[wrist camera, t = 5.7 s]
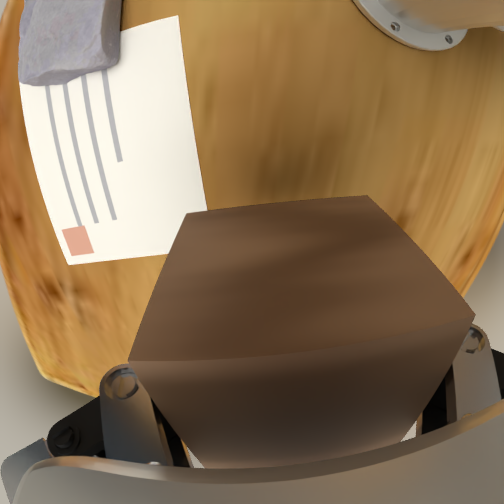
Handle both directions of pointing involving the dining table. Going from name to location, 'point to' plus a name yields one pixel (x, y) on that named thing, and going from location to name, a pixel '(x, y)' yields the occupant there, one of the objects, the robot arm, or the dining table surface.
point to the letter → (118, 150)
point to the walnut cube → (296, 332)
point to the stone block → (67, 39)
